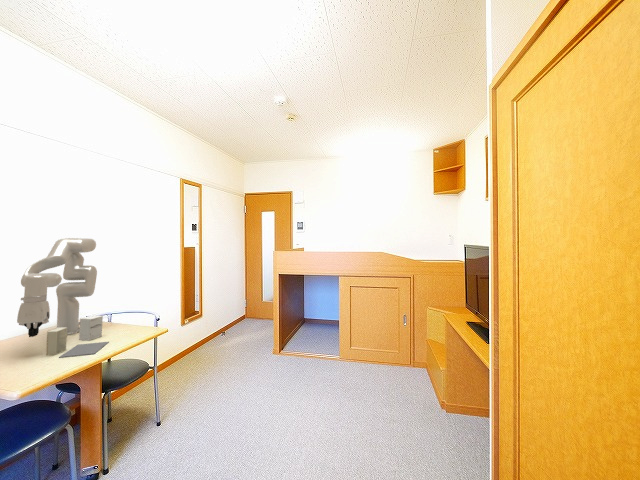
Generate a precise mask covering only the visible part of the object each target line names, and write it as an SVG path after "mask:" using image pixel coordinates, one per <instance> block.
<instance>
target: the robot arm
mask: <svg viewBox="0 0 640 480" xmlns="http://www.w3.org/2000/svg"><path fill="white" fill-rule="evenodd" d="M96 247H97V242H96V240H95V239H93V238H81V237H80V238H78V237H76V238H75V237H71V238H70V237H68V238H67V237H66V238H61V239H58V240H56V241H55V242H54V244H53V246H52V247H51V249H50V251H49V253H48V255H47V256H46V257H44V258H42V259H39V260H38V261H36V262H34V263H32V264H31V265H29V266H28V267H27V268H26V270H25V272H24V273H23V275H22V277H21V278H20V279H21V280H20V285H21V287H24V292H23V294H24V295H23V297H21V298H20V301H22V302H21V304H20V306H19V308H18V314H17V319H16V321H17V322H16V323H17V324H18V326H22V327H23V326H24V327H25V328H26V329H27V331H28V333H27V334H28V338H33V337H36V336H38V335H39V331H40V330H39V328H40V327H41V326H42V325H46V324H48V323H50V320H49V319H50V317H51V316H50V315H51V312H50V310H51V309H50V304H49V301H48V299H47V298H48V288H54V287H56V289H55V293H56V297H57V298H56V299H57V310H56V311H57V315H56V318H57V319H56V328H58V327H67V336H69V335H75V334H77V333H80V327H79V326H80V321H79V320H80V302H79V300H78V299H77V298H85V297H91V296H93V294H94V293H95V290H96V283H97V282H96V281H97V276H98V270H97V268H96V267H95V266H93V265H84V261H85V258H84V256H83V255H82V254H81V253H84V254H85V253H91V252H93V251H94V250H95V249H96ZM63 265H64V268H63V272H62V276H61V274H58V273H56V272H46V273H45V272H44V271H46V270H50V269H53V268H56V267H60V266H63ZM41 272H42V273H41ZM43 272H44V273H43ZM62 278H63V279H64V280H65V281H71V282H63V283H62V281H63V279H62ZM72 281H73V282H72Z"/></svg>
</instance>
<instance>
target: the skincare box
mask: <svg viewBox="0 0 640 480" xmlns="http://www.w3.org/2000/svg"><path fill="white" fill-rule="evenodd" d="M46 332H47V333H46V349H45V350H46V351H45V356H55V355H58V354H61V353H63V352H64V351H66V350H67V341H68V340H67V339H68V337H67V336H68V335H67V327H58V328H57V327H56V328H53V329H50V330H48V331H46Z"/></svg>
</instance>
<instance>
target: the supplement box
mask: <svg viewBox="0 0 640 480" xmlns="http://www.w3.org/2000/svg"><path fill="white" fill-rule="evenodd" d="M79 320H80V321H79V322H80V325H79V328H80V332H79V334H78V335H79V337H78V340H80V341H88V342H89V341H91V340H94V339H97V338H100V337H102V336H103V315H98V314H96V315H95V314H93V315H90V316H86V317H81V318H79Z"/></svg>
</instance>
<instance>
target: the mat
mask: <svg viewBox="0 0 640 480" xmlns="http://www.w3.org/2000/svg"><path fill="white" fill-rule="evenodd" d="M109 343H110V341H100V342H91V343H81V344H77V345H75V346H73V347H72V348H71V349H69V350H67V351H66V352H64V353H63V354H61V355H60V356H58V359H64V358H73V357H80V356H90V355H96V353H98V352H99V351H101V350H102V349H103V348H104V347H106V345H108V344H109Z"/></svg>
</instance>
